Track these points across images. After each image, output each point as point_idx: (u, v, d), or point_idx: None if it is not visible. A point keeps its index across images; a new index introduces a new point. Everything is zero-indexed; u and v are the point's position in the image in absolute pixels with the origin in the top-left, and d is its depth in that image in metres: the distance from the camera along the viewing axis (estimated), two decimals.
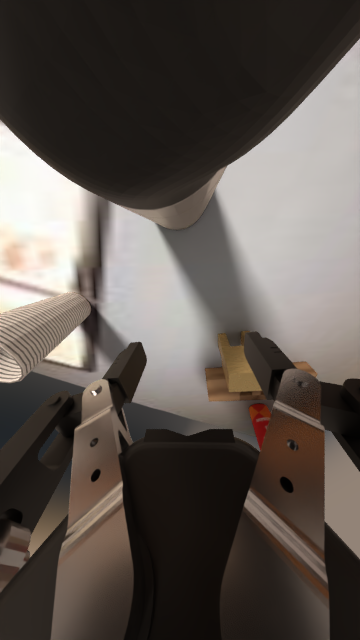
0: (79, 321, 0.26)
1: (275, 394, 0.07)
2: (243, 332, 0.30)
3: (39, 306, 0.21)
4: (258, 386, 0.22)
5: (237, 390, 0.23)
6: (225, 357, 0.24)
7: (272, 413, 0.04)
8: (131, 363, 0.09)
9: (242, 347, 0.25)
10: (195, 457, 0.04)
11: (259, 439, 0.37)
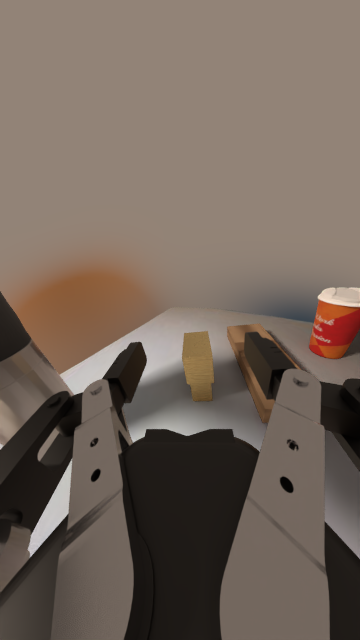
0: None
1: (275, 394, 0.07)
2: None
3: None
4: (202, 338, 0.25)
5: (209, 349, 0.22)
6: (185, 372, 0.23)
7: (272, 413, 0.04)
8: (131, 363, 0.09)
9: None
10: (195, 457, 0.04)
11: (345, 326, 0.26)
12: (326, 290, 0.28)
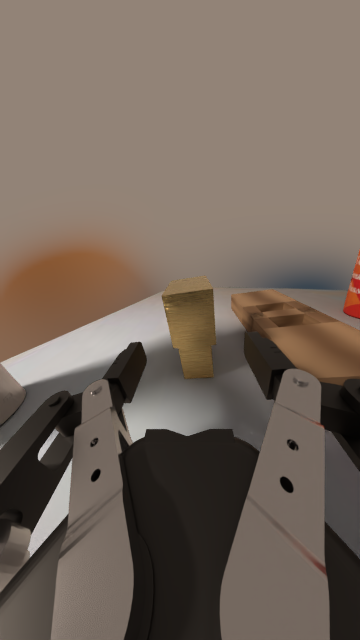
0: None
1: (275, 394, 0.07)
2: None
3: None
4: (197, 280, 0.16)
5: (207, 285, 0.13)
6: (169, 326, 0.14)
7: (272, 413, 0.04)
8: (131, 363, 0.09)
9: None
10: (195, 457, 0.04)
11: None
12: None
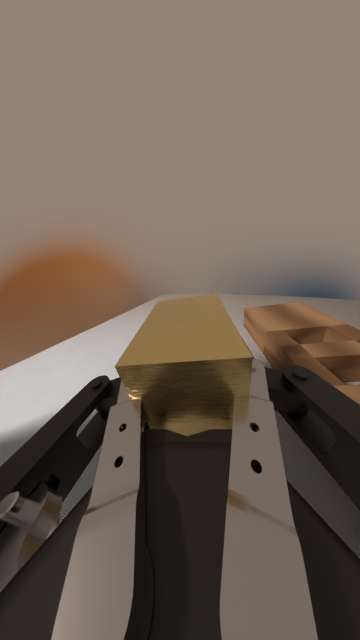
0: None
1: None
2: None
3: None
4: (203, 307, 0.09)
5: (230, 334, 0.06)
6: None
7: (235, 403, 0.05)
8: None
9: None
10: (195, 457, 0.04)
11: None
12: None
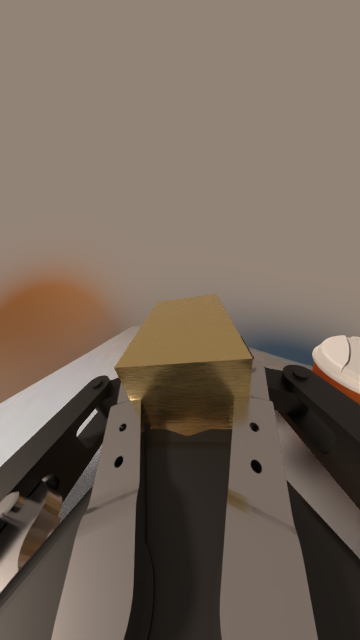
0: None
1: None
2: None
3: None
4: (203, 307, 0.08)
5: (230, 335, 0.06)
6: None
7: (235, 403, 0.05)
8: None
9: None
10: (195, 457, 0.04)
11: None
12: (329, 343, 0.14)
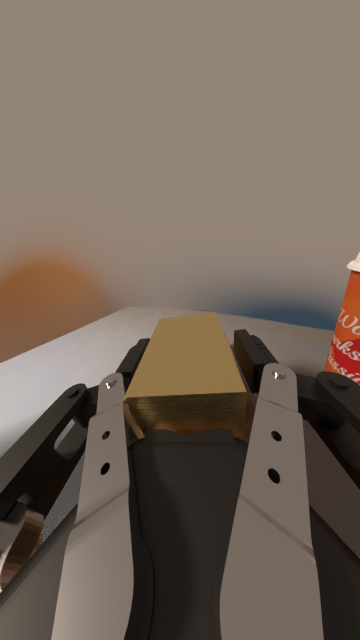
0: None
1: (258, 387, 0.07)
2: None
3: None
4: (202, 328, 0.09)
5: (227, 363, 0.06)
6: None
7: (256, 408, 0.05)
8: None
9: None
10: (195, 457, 0.04)
11: None
12: None
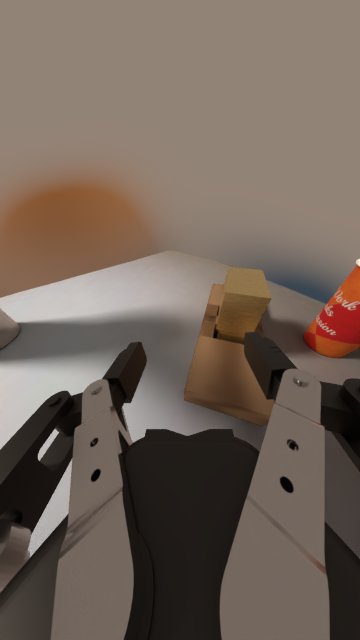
0: None
1: (275, 394, 0.07)
2: None
3: None
4: (255, 277, 0.18)
5: (265, 291, 0.15)
6: (219, 314, 0.18)
7: (272, 413, 0.04)
8: (131, 363, 0.09)
9: (219, 310, 0.22)
10: (195, 457, 0.04)
11: None
12: None
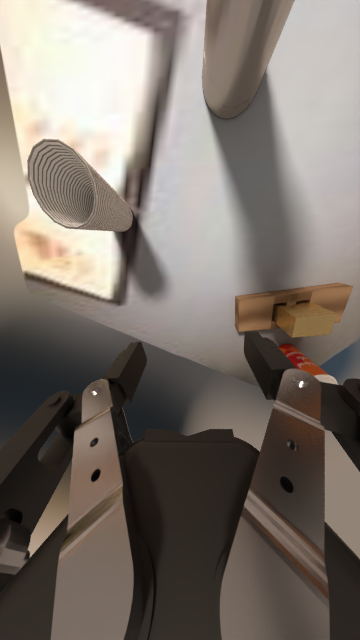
0: (126, 219, 0.28)
1: (275, 394, 0.07)
2: None
3: None
4: (318, 330, 0.28)
5: (299, 335, 0.29)
6: (286, 311, 0.30)
7: (272, 413, 0.04)
8: (131, 363, 0.09)
9: (297, 305, 0.31)
10: (195, 457, 0.04)
11: None
12: None
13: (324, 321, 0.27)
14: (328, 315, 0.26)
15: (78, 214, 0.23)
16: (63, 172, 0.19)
